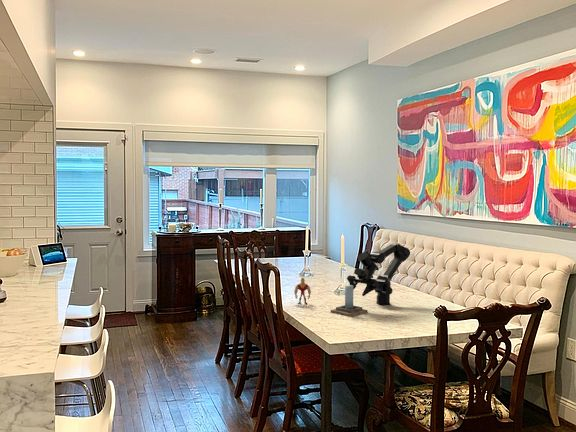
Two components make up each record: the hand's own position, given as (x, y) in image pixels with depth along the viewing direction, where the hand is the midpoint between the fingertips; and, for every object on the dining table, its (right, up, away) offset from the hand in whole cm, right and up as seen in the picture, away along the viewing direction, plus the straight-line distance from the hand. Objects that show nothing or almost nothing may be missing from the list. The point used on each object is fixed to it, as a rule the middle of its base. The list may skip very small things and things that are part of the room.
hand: (355, 294), depth 307 cm
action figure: (-28, -8, +18) cm, 34 cm away
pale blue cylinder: (-4, -8, -3) cm, 9 cm away
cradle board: (-4, -9, -3) cm, 10 cm away
